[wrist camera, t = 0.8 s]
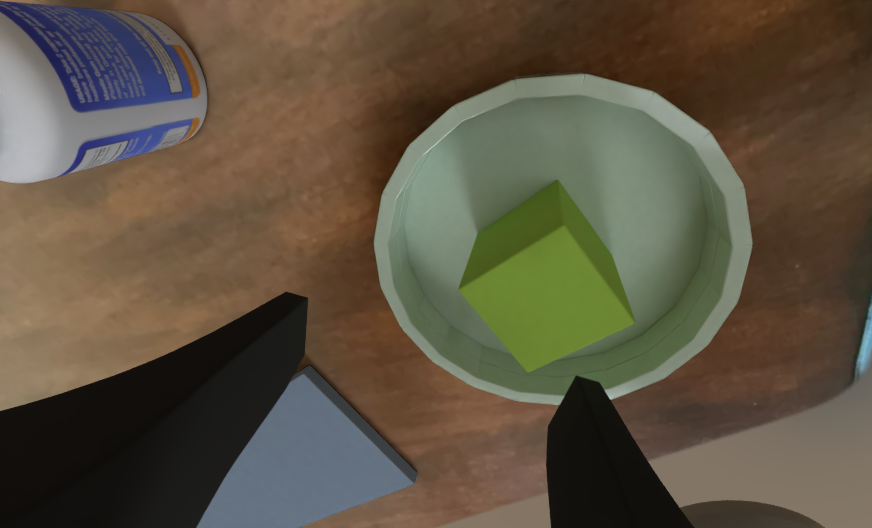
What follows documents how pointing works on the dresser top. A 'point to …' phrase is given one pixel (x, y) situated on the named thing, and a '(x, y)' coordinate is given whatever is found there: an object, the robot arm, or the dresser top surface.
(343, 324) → the dresser top surface
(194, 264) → the dresser top surface
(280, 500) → the mat
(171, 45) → the pill bottle
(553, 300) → the cube
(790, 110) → the dresser top surface
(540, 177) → the basin
